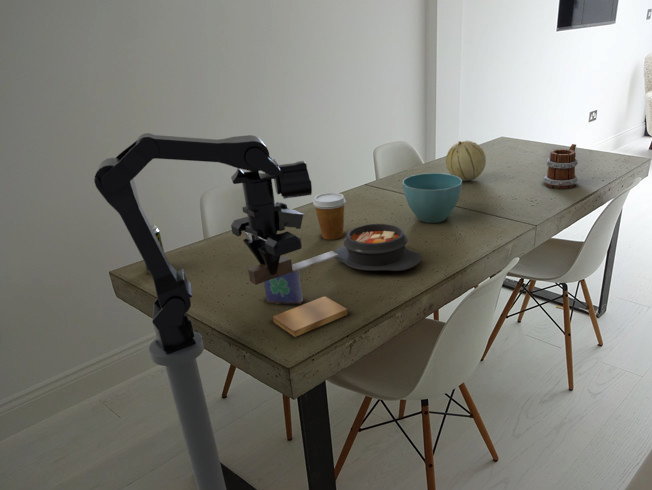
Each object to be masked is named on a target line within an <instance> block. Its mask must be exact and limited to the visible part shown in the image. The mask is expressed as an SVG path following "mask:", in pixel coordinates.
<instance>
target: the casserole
mask: <svg viewBox="0 0 652 490" xmlns="http://www.w3.org/2000/svg"><path fill="white" fill-rule="evenodd" d="M408 240H409V239H408V236H407V235H406V234H405V231H404V230H403V229H402V228H401V227H399V226H397V225H393V224H388V223H370V224H365V225H363V224H362V225H360V226H357V227H354V228H352V229H350V230H349V231H348V232H347V234H346V238H345V239H344V240H343V245H342V246H340V247H338V248H337V249H336V250H334V251H333V252H334V253H336V254H338V256H337V257H334V258H333V259H335V260H338V261H340V262H341V263H343V264H344V265H346V266H347V267H349V268H352V269H355V270H360V271H365V272H367V271H369V272H377V271H378V272H379V271H390V272H403V271H406V270H409V269H411V268H415V266H417V265H418V264H420V262H421V261H422V259H423V256H422V254H421V253H419V252H417V251H414V250H411V249H409V248H407V247H406V245H407V243H408Z"/></svg>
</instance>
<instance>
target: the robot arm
mask: <svg viewBox="0 0 652 490" xmlns="http://www.w3.org/2000/svg"><path fill="white" fill-rule="evenodd" d="M154 159H156V160H157V159H158V160H173V161H191V162H192V161H193V162H207V163H219V164H222V165H223V164H224V165H227V166H230V167H233V168H236V171H235V172H234V173H233V174H232V176H231V177H230V179H231V182H232V184H233V185H239V184H241V185H242V190H243V197H244V204H245V205H244V206H242V207H241V209H242V212H243V213H244V214H247V216H245V217H241V218H237V219H234V220H233V221H232V223H231V225H230V227H231V232H232V234H233V235H235V236H236V237H241V236H242V234H243V233H244V234H245V237H246V238H244V239H243V241H242V242H243V243H244V244H245V245H246V246H247V248H248V249H249V250H250V252H251V253H252V254H253V256H254V257H255V259H256V260H257V262H258V263H259V265H260V264H263V263H265V264H266V265H267V267H268V269H269V271H270V273H271V274H272V275H275V274H277V270H278V265H279V260H280V258H281V257H282V256H284V255H287V254H290V253H292V252H295V251H299V250H301V249H302V248H303V245H302V238H301V237H300V236H297V235H296V234H294V233H293V232H292V233H291V232H289V231H286V228H295V229H297V230H301V228H302V223H303V219H304V213H302V212H299V211H297V210H295V209H291V208H288V205H287V204H286V203H284V202H282V201H281V202H280V201H277V202H276V201H275V195H274V188H275V193H276V195H281V197H282V199H284V200H286V199H292V198H298V197H300V198H301V197H305V196H312V194H313V191H312V190H313V187H312V180H311V179H310V174H309V171H308V165H307V163H306V161H304V160H299V161H296V162H292V163H283V164H279V163H278V162H277V161H276V159H275V158H272V157H271V156H270V152H269V149H268V147H267V146H266V144H265V143H264V142H263V140H262V139H261V138H260V137H258V136H256V135H253V134H248V135H238V136H230V137H227V138H226V137H225V138H220V139H219V138H218V139H212V138H201V137H188V136H187V137H186V136H171V135H161V134H153V133H149V132H146V133H142V134H140V135H139V136H138V138H136V140H135V141H134V142H132V143H131V144H130V145H129V146H127V147H126V148H124V149H123V150H122V151H121V152H120V153H119V154H118V155H117V156H115V157H108V158H105V159H104V160H102V161H101V162H100V163H99V164H98V168H97V170H96V173H95V175H94V180H93V181H94V186H95V188H96V189H97V191H98V192H99V193H100V195H101V196H102V197H103V198H104V200H105V201H106V202H107V204H108V205H109V206H111V207H112V208H113V209H114V210H115V211H116V212H117V213H118V215H119V216H120V218H121V219H122V222H123V224H124V226H125V228H126V229H127V231H128V233H129V235H130V237H131V239H132V240H133V241H132V242H134V245H135V247H136V248H137V250H138V252H139V254H140V256H141V258H142V260H143V262H144V265H145V264H146V265H147V267H148V269H149V271H150V273H149V274H151V277H152V279H153V284H154V288H155V292H156V297H157V298H156V299H155V300H154V302H153V303H152V321H151V322H152V325H153V330H154V333H155V337H156V339H157V340H156V341H155V343H156V344H157V345H158V346H159V347H160V348H161V349H162V350H163V351H164V352H165V354H170V353H173V352H175V351H178V350H180V349H183V348H186V347H188V346H191V345H193V344H196V341H195V340H194V339H193V337H194V332H193V331H194V329H193V324H192V320H191V319H190V318H189V317H188V315H187V313H188V312H189V310H190V308H191V305H192V304H191V302H192V301H191V298H193V291H192V283H191V282H190V281H189V280H188V279H187V276H186V273H185V269H184V268H181V269H179V270H178V271H177V270H176V269H175V268H174V267H173V266H172V264H171V262H170V261H169V259H168V257H167V254H166V253H165V250H164V251H163V249H164V248H163V249H162V247H161V245H160V243H159V241H158V239H157V237H156V235H155V233H154V231H153V229H152V227H151V225H152V224H151V223H150V220H149V219H148V217H147V215H146V213H145V211H144V209H143V207H142V205H141V202H140V199H139V195H138V189H137V186H136V182H135V177H137V176H138V174H139V173H140V172H141V171H143V169H144V168H145V167H146V166H147V165H148V164H149V163H150V162H151V161H153V160H154ZM244 170H245V171H244ZM260 172H261V173H260ZM262 172H263V173H262ZM273 182H274V188H273ZM282 231H284V232H282ZM278 232H280V233H278ZM146 265H145V266H146Z"/></svg>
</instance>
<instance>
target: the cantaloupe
mask: <svg viewBox="0 0 652 490" xmlns="http://www.w3.org/2000/svg"><path fill="white" fill-rule="evenodd" d="M445 164H446V168H447V170H448V172H449V174H450V175H454V176H457V177H459V178H460V179H461V180H462V182H467V181H471V180H475V179H477V178H479V176H481V174H482V173H483V172H484V169H485V168H486V164H487V159H486V154H485V151H484V149H483V148H482V147H481V146H480V145H479V144H478V143H477V142H475V141H473V140H468V139H467V140H459V141H458V142H456V143H454V144H453V145H452V146H450V148H449V150H448V151H447V153H446V157H445Z"/></svg>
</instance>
